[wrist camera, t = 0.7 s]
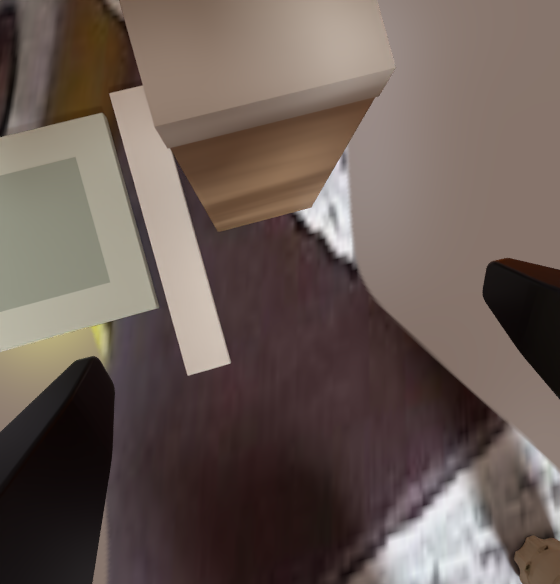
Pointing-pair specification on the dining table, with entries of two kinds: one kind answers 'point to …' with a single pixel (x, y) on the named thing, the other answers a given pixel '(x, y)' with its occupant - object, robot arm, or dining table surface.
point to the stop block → (258, 93)
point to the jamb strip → (171, 234)
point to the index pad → (66, 234)
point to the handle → (539, 561)
